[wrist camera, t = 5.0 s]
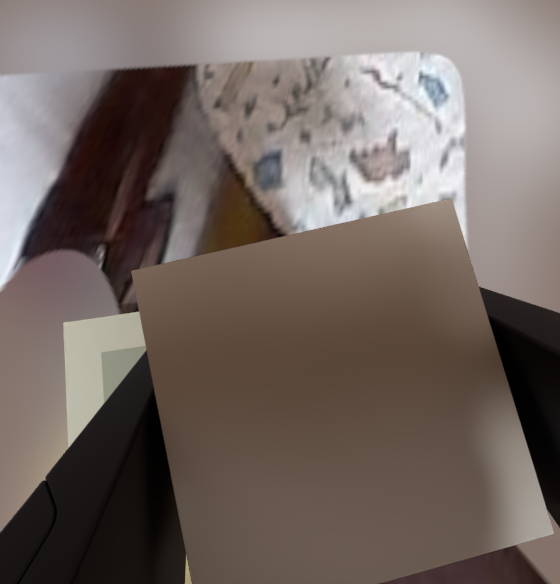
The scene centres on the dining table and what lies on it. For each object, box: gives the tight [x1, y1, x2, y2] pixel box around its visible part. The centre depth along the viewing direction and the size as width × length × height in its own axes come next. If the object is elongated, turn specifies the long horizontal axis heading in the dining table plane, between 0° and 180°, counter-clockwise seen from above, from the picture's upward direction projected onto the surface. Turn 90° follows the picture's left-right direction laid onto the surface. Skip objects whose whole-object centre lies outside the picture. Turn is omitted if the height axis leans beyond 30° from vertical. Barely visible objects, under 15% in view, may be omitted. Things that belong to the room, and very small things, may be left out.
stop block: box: [131, 198, 554, 584], centre depth 13 cm, size 6×6×13 cm
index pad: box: [63, 312, 146, 448], centre depth 21 cm, size 11×10×1 cm
